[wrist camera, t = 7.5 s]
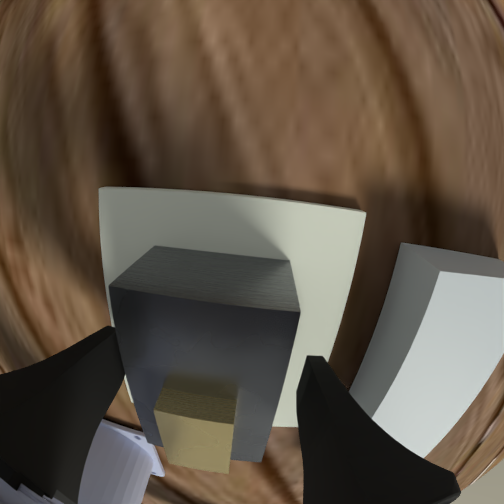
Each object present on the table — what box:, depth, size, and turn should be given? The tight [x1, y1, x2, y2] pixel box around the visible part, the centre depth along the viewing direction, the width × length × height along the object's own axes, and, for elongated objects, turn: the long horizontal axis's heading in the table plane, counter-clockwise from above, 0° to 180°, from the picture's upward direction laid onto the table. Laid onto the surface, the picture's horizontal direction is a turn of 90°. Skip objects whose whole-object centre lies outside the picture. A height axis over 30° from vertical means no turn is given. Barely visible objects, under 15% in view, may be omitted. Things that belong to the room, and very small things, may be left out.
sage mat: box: [99, 187, 366, 427], centre depth 11 cm, size 10×12×1 cm
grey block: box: [108, 245, 301, 474], centre depth 9 cm, size 5×8×4 cm, turn 174°
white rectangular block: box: [349, 242, 504, 458], centre depth 9 cm, size 7×16×6 cm, turn 174°
